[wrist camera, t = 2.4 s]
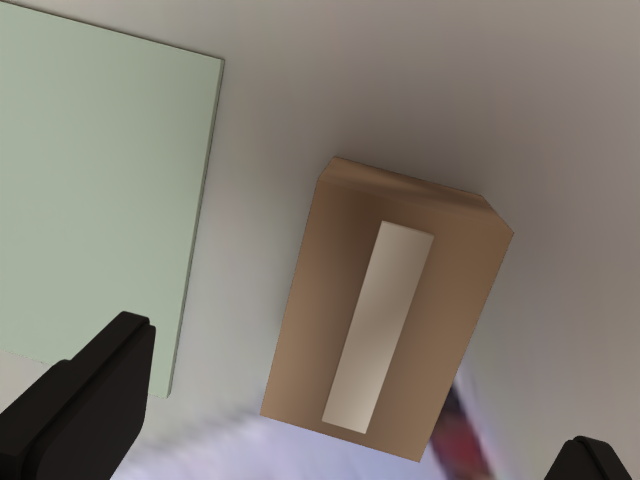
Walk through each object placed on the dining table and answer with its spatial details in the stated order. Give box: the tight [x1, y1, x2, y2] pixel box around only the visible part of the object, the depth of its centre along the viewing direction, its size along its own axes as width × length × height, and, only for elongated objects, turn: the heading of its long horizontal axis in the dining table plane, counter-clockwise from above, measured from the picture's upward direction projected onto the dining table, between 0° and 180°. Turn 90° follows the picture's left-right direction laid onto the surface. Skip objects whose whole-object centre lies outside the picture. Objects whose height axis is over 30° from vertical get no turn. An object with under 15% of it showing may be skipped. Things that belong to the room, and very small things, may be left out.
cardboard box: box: [260, 157, 514, 462], centre depth 18 cm, size 6×9×5 cm, turn 166°
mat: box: [0, 1, 225, 399], centre depth 21 cm, size 16×16×1 cm
